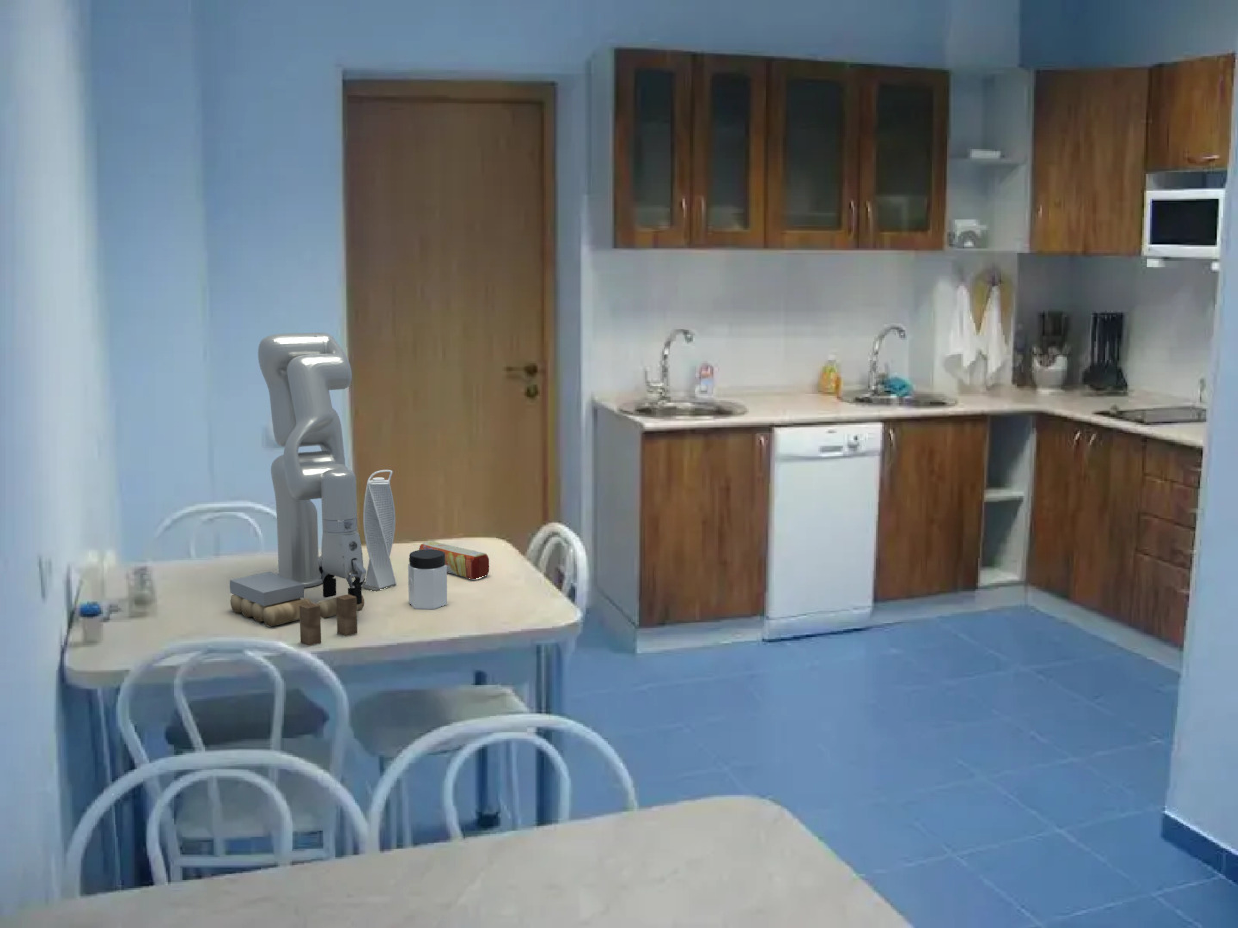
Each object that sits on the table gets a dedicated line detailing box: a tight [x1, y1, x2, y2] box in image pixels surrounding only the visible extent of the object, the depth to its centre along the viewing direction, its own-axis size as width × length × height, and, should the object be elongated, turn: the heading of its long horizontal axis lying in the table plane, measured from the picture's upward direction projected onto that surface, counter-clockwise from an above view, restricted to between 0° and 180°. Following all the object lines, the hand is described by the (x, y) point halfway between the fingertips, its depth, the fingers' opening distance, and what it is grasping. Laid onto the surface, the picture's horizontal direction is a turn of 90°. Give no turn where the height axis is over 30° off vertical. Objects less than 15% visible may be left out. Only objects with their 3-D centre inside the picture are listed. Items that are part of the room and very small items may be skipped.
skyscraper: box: [359, 469, 397, 592], centre depth 302 cm, size 8×8×28 cm
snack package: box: [418, 540, 490, 580], centre depth 318 cm, size 21×7×7 cm, turn 48°
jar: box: [407, 549, 448, 610], centre depth 290 cm, size 9×8×12 cm
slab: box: [229, 571, 305, 606], centre depth 281 cm, size 10×14×3 cm
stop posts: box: [299, 593, 358, 647], centre depth 265 cm, size 12×3×8 cm, turn 137°
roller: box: [316, 595, 365, 619], centre depth 283 cm, size 10×4×4 cm, turn 137°
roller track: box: [229, 594, 313, 628], centre depth 280 cm, size 10×18×4 cm, turn 47°
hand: (342, 600), depth 282 cm, fingers open, 9 cm apart
